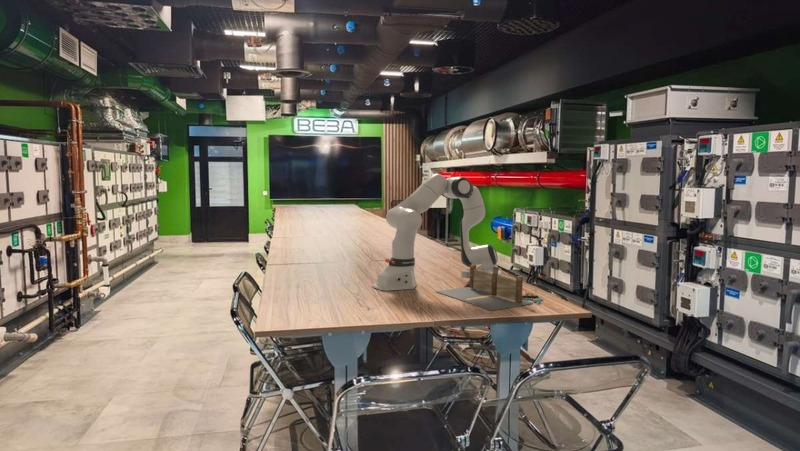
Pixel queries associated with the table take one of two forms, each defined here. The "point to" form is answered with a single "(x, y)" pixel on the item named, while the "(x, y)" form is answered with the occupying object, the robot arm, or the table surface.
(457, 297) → the board
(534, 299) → the gear mechanism
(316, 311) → the table surface
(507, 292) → the fence fixed
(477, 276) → the fence panel
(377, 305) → the table surface
